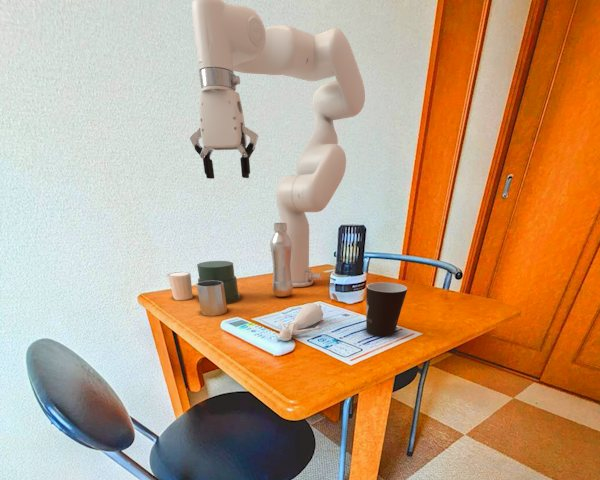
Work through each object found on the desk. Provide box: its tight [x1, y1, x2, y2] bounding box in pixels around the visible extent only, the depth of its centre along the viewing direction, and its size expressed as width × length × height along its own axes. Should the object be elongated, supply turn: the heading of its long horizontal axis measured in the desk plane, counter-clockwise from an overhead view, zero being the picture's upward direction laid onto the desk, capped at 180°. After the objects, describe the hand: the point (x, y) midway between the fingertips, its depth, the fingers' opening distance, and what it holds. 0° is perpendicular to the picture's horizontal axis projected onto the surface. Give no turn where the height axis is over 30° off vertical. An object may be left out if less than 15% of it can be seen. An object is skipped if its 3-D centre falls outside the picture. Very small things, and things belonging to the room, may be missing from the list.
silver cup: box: [195, 280, 228, 317], centre depth 83 cm, size 7×7×8 cm
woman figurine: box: [277, 302, 324, 342], centre depth 73 cm, size 12×4×18 cm
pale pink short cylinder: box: [166, 271, 194, 301], centre depth 95 cm, size 7×7×7 cm
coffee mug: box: [365, 281, 408, 338], centre depth 71 cm, size 12×9×10 cm
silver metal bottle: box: [269, 222, 294, 298], centre depth 92 cm, size 6×7×20 cm
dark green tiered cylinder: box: [196, 260, 241, 305], centre depth 93 cm, size 12×12×10 cm
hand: (227, 178), depth 79 cm, fingers open, 9 cm apart
